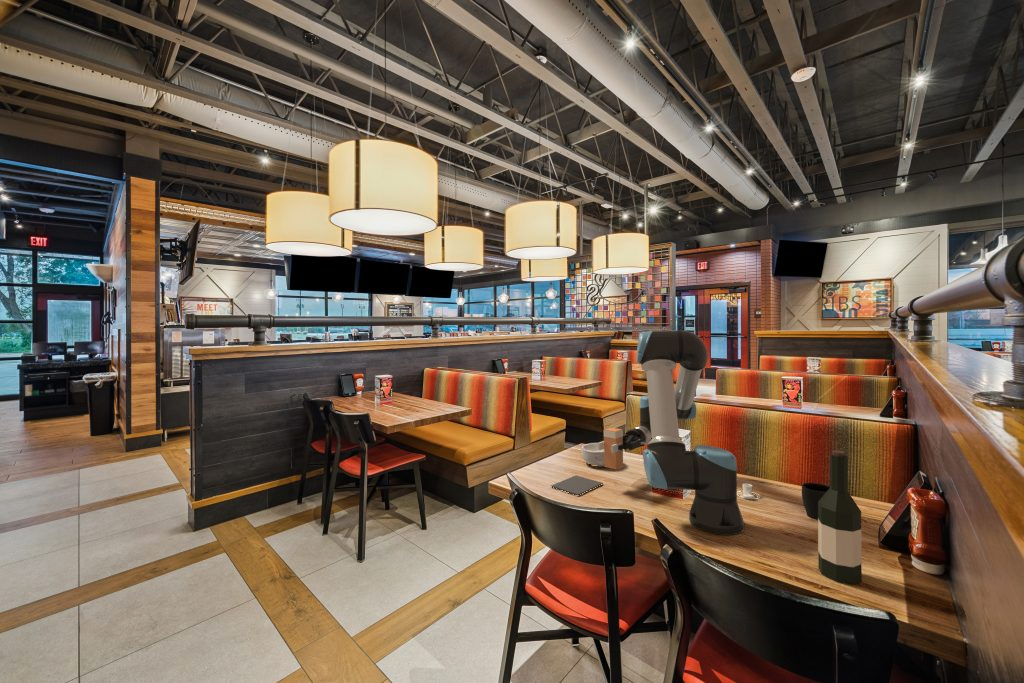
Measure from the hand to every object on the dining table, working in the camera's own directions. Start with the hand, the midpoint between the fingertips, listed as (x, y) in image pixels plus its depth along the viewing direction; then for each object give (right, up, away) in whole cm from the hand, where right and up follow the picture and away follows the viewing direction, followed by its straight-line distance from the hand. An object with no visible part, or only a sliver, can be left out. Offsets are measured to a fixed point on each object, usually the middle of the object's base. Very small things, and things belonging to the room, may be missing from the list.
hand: (605, 447), depth 156 cm
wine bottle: (+45, -17, -54) cm, 72 cm away
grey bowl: (+5, -16, +35) cm, 39 cm away
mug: (+63, -16, -24) cm, 69 cm away
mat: (-9, -17, +8) cm, 21 cm away
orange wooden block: (+4, -8, +4) cm, 10 cm away
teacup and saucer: (+47, -17, -4) cm, 50 cm away
